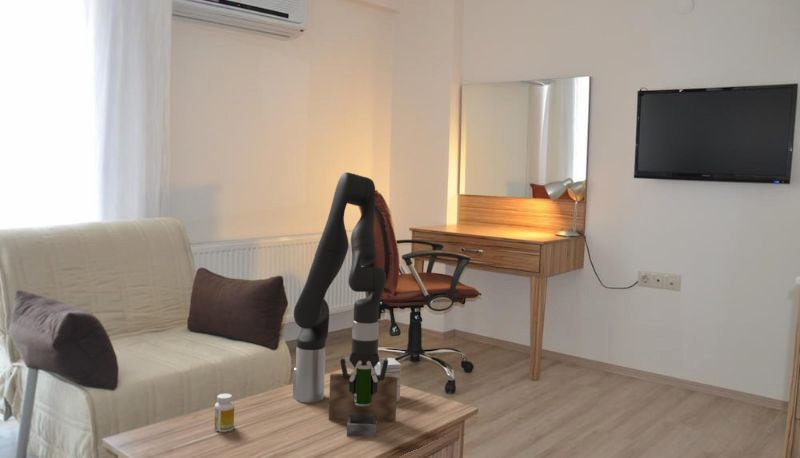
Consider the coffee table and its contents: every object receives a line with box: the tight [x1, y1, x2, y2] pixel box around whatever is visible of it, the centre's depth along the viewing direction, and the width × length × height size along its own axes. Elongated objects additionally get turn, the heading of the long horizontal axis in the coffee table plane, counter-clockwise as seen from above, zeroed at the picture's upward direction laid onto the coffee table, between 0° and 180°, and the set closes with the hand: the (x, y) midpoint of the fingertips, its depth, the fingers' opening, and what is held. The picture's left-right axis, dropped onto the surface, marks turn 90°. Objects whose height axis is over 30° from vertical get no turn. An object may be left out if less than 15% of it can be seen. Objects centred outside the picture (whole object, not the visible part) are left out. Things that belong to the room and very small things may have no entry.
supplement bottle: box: [213, 393, 235, 433], centre depth 196 cm, size 5×5×10 cm
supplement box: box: [374, 357, 402, 402], centre depth 225 cm, size 7×7×13 cm
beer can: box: [354, 364, 373, 406], centre depth 197 cm, size 5×5×12 cm
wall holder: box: [328, 372, 398, 438], centre depth 200 cm, size 20×13×14 cm, turn 92°
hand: (363, 393), depth 198 cm, fingers closed on beer can, 5 cm apart
